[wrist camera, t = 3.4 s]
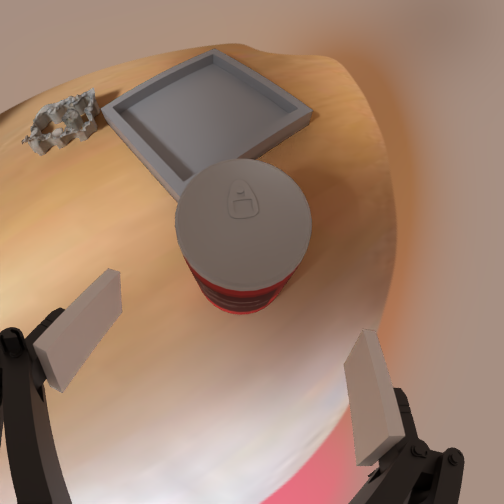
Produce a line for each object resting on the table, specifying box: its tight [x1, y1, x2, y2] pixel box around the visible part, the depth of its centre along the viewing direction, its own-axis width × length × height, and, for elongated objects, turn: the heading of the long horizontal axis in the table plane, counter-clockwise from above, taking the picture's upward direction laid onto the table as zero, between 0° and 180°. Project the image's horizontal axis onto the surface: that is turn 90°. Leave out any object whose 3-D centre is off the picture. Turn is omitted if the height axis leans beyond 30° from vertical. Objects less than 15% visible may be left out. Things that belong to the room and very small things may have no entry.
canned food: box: [175, 159, 312, 314], centre depth 21 cm, size 8×8×11 cm
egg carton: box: [22, 88, 100, 156], centre depth 30 cm, size 11×8×4 cm
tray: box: [101, 49, 313, 203], centre depth 31 cm, size 18×18×2 cm
